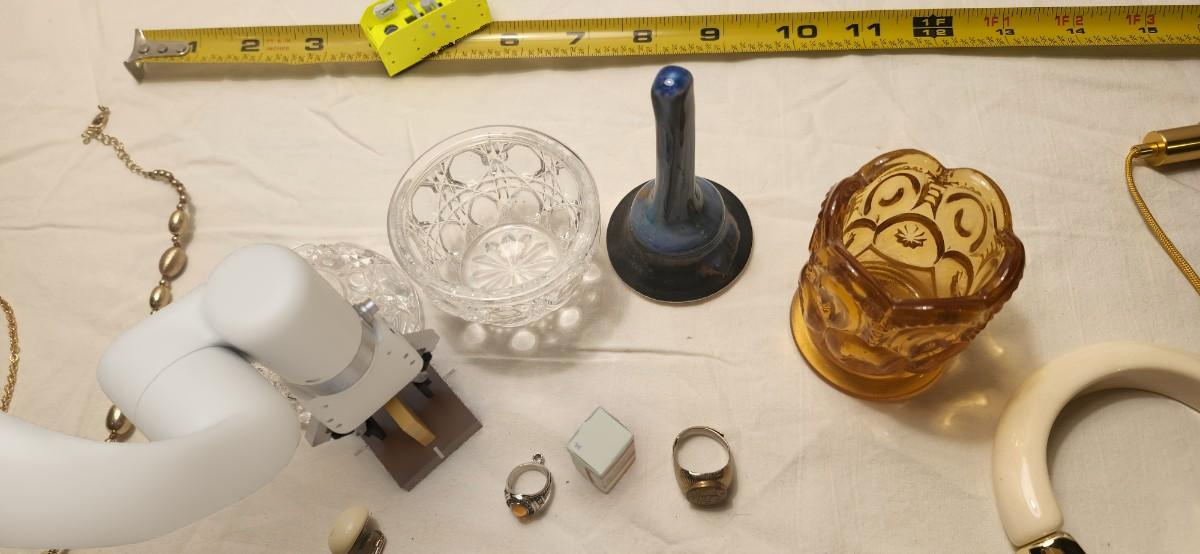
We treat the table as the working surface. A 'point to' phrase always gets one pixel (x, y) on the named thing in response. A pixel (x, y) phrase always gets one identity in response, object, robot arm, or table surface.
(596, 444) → the pale grey box
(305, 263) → the robot arm
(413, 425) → the yellow angled block
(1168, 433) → the table surface
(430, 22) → the yellow toy chassis
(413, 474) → the stand
